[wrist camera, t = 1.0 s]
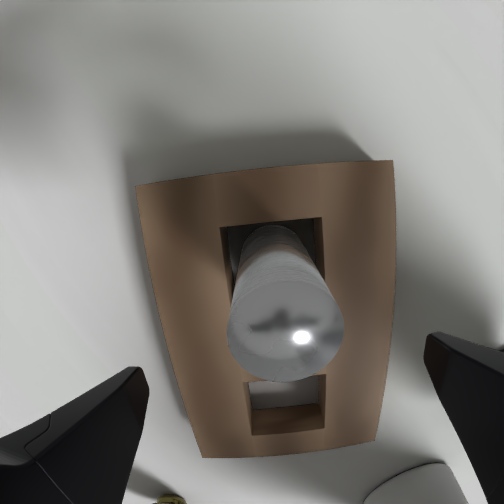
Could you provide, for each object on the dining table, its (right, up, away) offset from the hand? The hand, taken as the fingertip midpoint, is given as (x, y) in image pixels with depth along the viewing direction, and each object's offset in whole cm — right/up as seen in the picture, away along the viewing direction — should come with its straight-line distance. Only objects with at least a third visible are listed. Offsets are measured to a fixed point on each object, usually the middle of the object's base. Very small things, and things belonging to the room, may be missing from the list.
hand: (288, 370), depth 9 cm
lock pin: (0, +3, +11) cm, 12 cm away
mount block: (+1, -2, +12) cm, 13 cm away
